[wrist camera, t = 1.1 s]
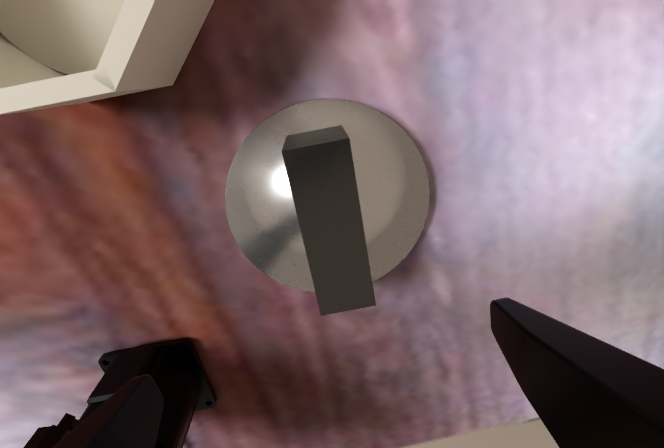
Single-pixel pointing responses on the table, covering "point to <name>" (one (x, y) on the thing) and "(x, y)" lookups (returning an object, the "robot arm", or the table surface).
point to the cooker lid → (328, 199)
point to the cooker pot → (91, 48)
